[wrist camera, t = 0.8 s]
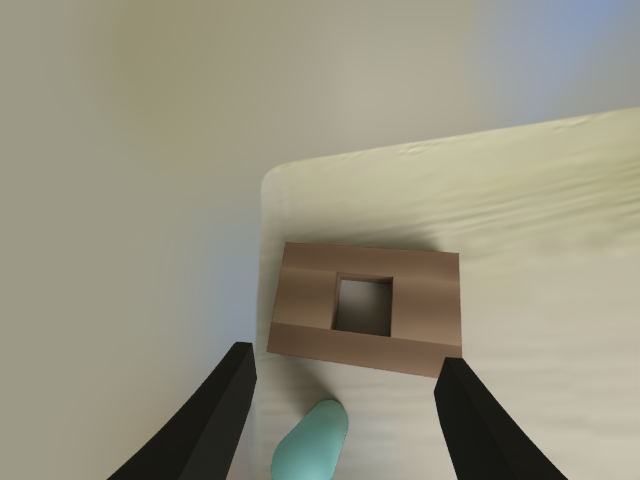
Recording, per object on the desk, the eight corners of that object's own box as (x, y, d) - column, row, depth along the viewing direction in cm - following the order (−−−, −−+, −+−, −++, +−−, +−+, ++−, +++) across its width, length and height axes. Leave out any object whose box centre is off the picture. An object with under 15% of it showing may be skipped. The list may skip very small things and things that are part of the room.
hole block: (451, 377, 21) (463, 382, 19) (278, 350, 24) (266, 351, 22) (449, 263, 24) (458, 253, 22) (294, 252, 27) (285, 242, 25)
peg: (346, 447, 21) (327, 515, 13) (308, 439, 22) (266, 499, 14) (350, 403, 22) (334, 439, 14) (313, 396, 23) (276, 427, 14)
